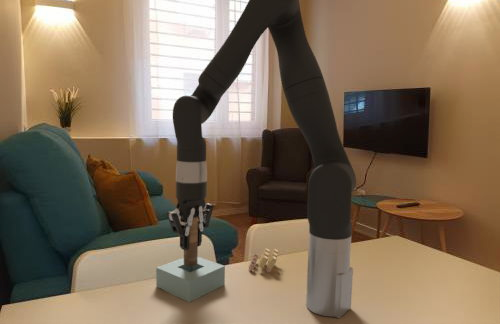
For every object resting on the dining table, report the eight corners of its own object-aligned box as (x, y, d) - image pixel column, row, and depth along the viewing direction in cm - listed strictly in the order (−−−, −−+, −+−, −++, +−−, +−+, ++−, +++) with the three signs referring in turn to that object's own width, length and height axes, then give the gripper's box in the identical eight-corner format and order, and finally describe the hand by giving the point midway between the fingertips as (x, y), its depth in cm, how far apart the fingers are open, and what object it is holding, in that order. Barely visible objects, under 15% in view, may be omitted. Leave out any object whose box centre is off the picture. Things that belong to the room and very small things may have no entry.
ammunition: (279, 248, 110) (251, 246, 111) (277, 257, 103) (248, 255, 104) (278, 264, 111) (251, 262, 112) (276, 274, 104) (247, 272, 105)
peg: (200, 263, 95) (200, 216, 93) (190, 267, 92) (190, 219, 91) (191, 259, 97) (191, 214, 95) (180, 263, 94) (181, 216, 93)
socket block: (224, 284, 96) (224, 266, 95) (189, 302, 87) (189, 281, 86) (192, 272, 103) (192, 254, 103) (156, 286, 94) (156, 267, 93)
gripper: (179, 184, 84) (179, 259, 86) (222, 177, 95) (221, 244, 97) (158, 180, 89) (158, 251, 91) (201, 174, 100) (201, 237, 102)
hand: (191, 247), depth 94 cm, fingers closed on peg, 3 cm apart
